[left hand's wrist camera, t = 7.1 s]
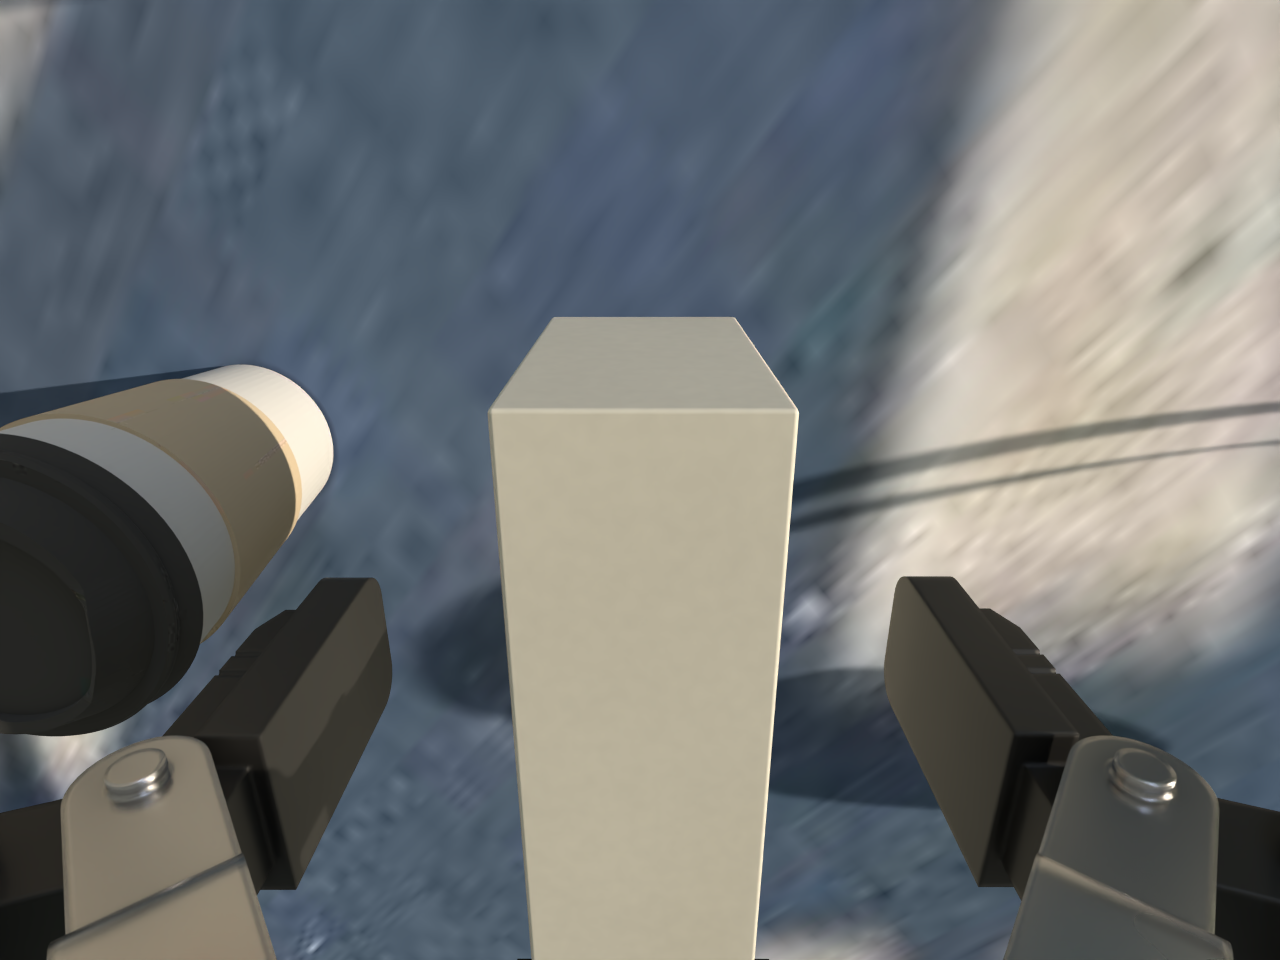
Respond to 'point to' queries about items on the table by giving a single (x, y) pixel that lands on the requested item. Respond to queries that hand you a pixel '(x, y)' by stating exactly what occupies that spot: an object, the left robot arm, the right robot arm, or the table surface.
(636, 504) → the bar
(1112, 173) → the table surface
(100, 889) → the left robot arm
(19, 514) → the coffee cup
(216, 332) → the table surface
